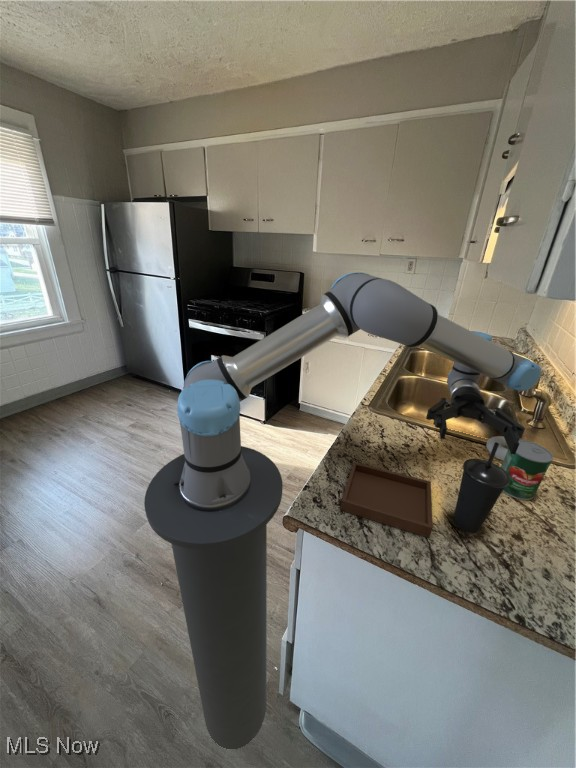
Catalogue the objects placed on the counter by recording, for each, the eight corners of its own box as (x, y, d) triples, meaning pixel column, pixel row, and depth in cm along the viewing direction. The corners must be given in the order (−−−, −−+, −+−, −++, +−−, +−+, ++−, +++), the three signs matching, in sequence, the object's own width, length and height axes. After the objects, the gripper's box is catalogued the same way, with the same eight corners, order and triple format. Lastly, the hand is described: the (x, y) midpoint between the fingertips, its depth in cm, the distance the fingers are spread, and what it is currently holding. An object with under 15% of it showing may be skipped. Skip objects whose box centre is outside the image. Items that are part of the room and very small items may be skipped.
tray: (340, 510, 66) (341, 500, 65) (352, 470, 78) (353, 461, 77) (429, 538, 61) (432, 527, 60) (428, 490, 72) (430, 481, 71)
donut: (530, 471, 80) (524, 450, 88) (535, 461, 78) (529, 440, 86) (485, 459, 84) (484, 439, 92) (489, 448, 82) (487, 429, 90)
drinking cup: (468, 506, 69) (497, 429, 60) (496, 535, 62) (533, 454, 53) (438, 511, 67) (463, 433, 58) (463, 542, 60) (495, 459, 52)
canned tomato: (510, 501, 70) (528, 462, 66) (487, 476, 77) (502, 439, 73) (543, 499, 71) (563, 461, 66) (517, 475, 78) (533, 439, 73)
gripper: (514, 420, 83) (540, 470, 65) (414, 401, 91) (413, 441, 73) (524, 394, 79) (555, 440, 61) (420, 378, 87) (419, 413, 69)
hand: (478, 441), depth 67 cm, fingers open, 13 cm apart
